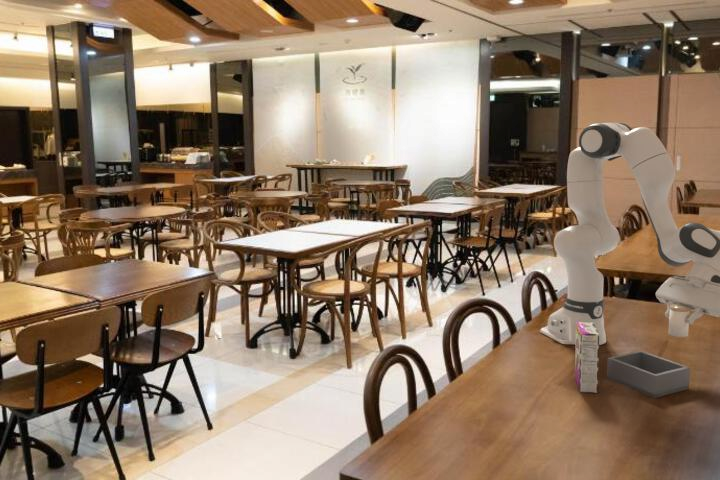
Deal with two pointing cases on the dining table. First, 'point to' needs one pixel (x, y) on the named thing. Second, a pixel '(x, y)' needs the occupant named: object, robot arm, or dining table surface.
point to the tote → (648, 373)
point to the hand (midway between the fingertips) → (677, 319)
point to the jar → (678, 320)
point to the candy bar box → (586, 357)
